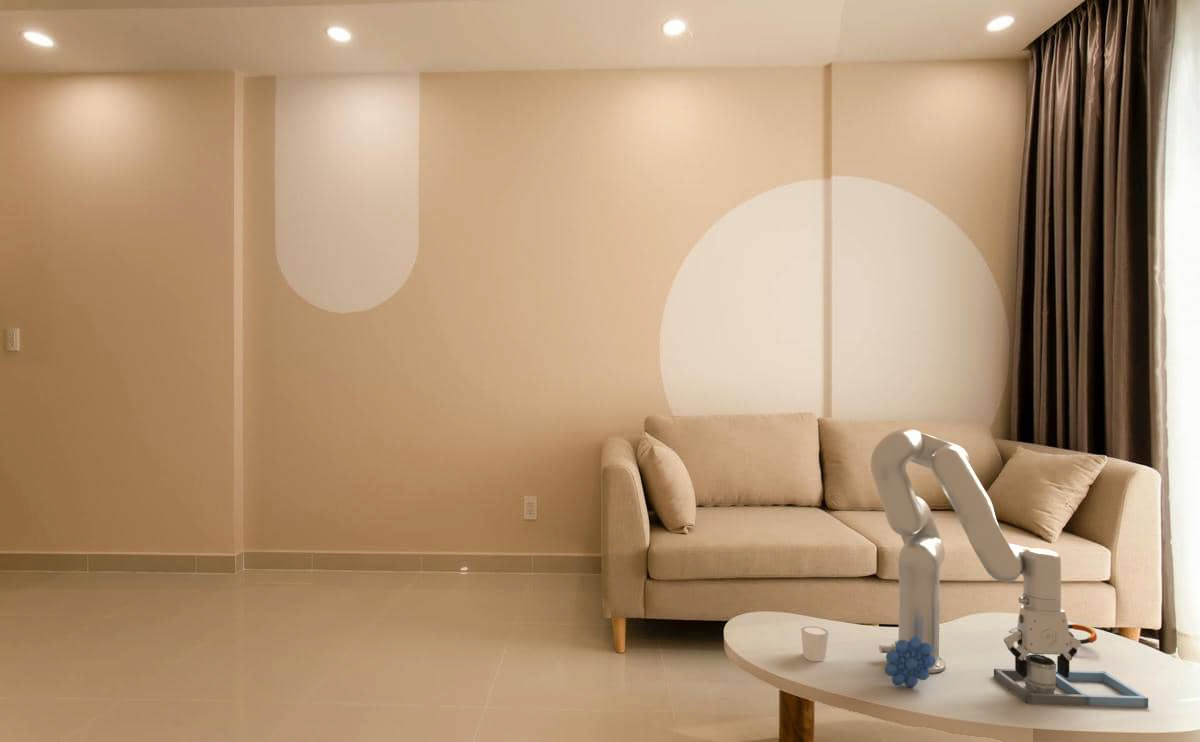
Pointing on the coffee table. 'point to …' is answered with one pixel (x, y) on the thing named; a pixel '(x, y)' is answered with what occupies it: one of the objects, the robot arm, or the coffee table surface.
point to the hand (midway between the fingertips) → (1042, 675)
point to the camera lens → (1040, 674)
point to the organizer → (1074, 690)
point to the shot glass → (814, 643)
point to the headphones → (1083, 628)
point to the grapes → (909, 662)
